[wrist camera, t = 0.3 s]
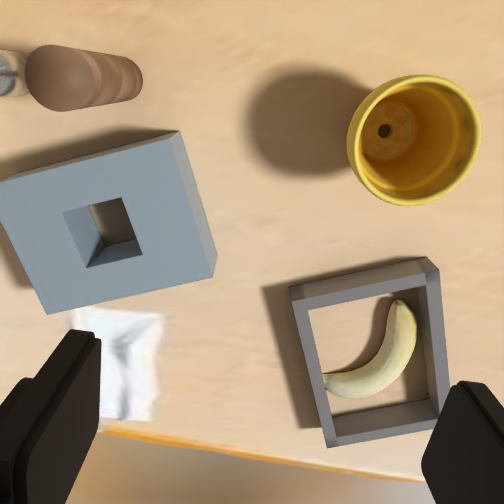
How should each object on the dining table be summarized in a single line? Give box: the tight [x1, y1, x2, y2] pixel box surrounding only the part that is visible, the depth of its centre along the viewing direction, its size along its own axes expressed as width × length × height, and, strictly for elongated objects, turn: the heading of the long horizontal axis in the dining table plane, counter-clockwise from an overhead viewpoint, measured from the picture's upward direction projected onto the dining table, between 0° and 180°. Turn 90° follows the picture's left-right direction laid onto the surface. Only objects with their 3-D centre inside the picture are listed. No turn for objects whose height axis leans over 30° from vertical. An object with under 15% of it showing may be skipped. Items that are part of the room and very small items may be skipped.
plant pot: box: [347, 75, 481, 206], centre depth 39 cm, size 10×10×10 cm
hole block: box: [0, 131, 217, 315], centre depth 44 cm, size 14×18×6 cm
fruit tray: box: [289, 257, 450, 448], centre depth 52 cm, size 22×16×4 cm
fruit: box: [322, 300, 417, 398], centre depth 52 cm, size 7×15×3 cm, turn 144°
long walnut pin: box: [25, 45, 143, 112], centre depth 34 cm, size 4×4×15 cm
